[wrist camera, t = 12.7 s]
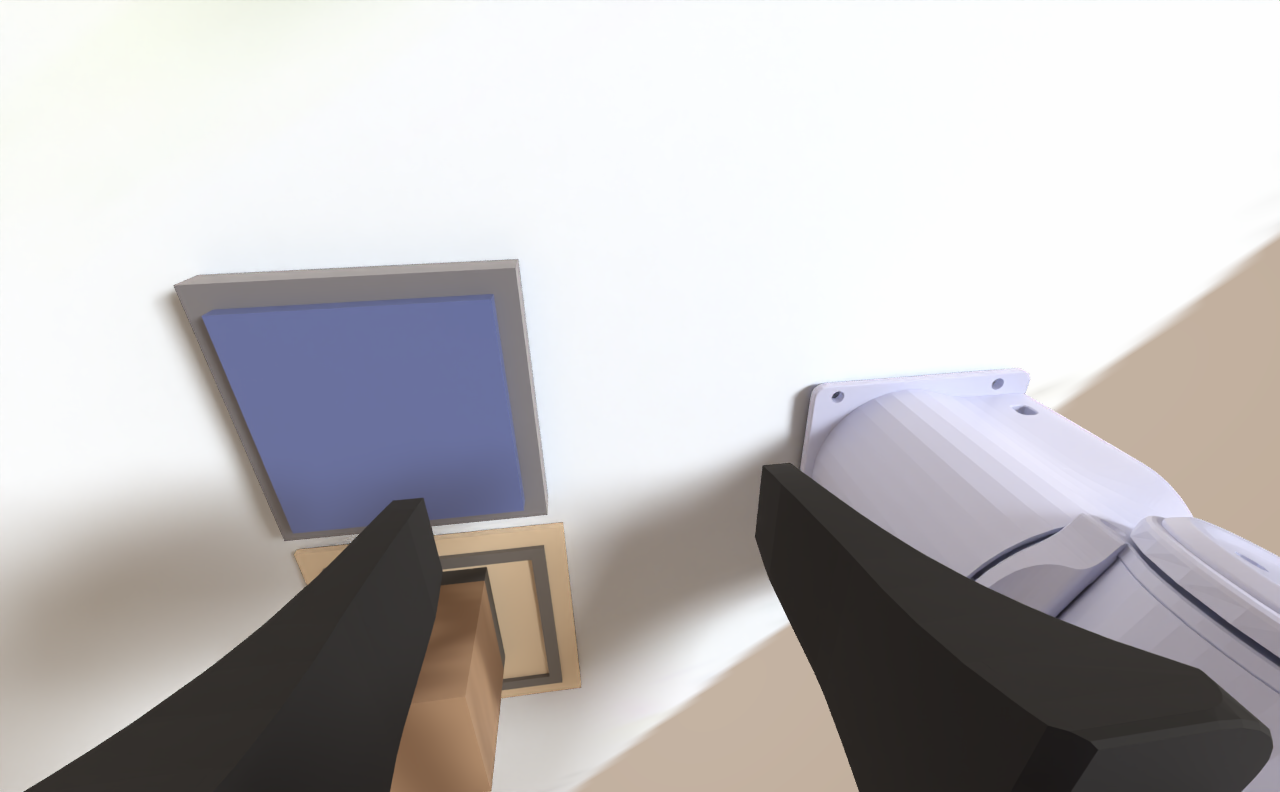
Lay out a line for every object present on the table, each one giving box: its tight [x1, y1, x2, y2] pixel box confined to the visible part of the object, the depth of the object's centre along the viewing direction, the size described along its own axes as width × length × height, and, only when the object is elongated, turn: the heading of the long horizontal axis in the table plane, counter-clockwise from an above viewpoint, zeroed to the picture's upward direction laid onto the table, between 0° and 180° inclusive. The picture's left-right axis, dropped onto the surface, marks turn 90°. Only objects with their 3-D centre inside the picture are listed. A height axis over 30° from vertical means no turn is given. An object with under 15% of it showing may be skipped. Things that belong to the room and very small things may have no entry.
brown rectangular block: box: [390, 567, 505, 792], centre depth 22 cm, size 4×6×6 cm, turn 2°
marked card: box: [294, 522, 581, 698], centre depth 25 cm, size 11×11×1 cm
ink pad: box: [174, 259, 548, 541], centre depth 19 cm, size 10×10×2 cm
